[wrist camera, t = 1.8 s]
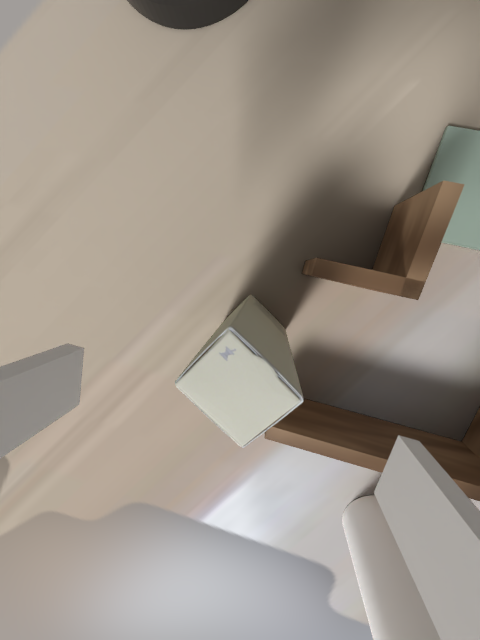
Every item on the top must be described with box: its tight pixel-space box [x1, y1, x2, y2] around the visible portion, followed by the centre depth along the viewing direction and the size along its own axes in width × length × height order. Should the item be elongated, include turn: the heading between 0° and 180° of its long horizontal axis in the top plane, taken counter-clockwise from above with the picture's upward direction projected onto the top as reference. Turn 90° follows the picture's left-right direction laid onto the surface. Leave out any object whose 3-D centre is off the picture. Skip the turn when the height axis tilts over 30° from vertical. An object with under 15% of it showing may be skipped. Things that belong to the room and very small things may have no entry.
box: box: [175, 295, 304, 447], centre depth 18 cm, size 5×4×13 cm
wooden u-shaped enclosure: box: [265, 180, 480, 501], centre depth 19 cm, size 20×20×6 cm
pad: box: [423, 126, 480, 250], centre depth 19 cm, size 8×8×1 cm
